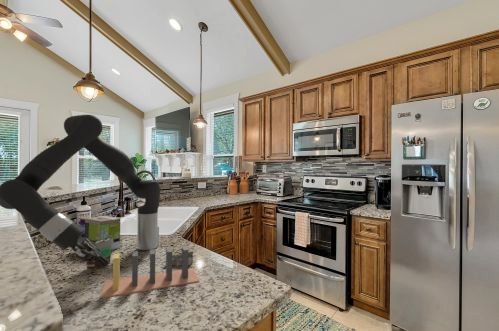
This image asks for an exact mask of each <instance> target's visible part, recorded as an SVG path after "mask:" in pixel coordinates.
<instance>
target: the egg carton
mask: <svg viewBox="0 0 499 331" xmlns="http://www.w3.org/2000/svg"><path fill="white" fill-rule="evenodd" d="M193 261H194V251H193V250H191V251H190V250H189V251H188V266H191V265H192V262H193ZM172 266H176V267H180V266H182V253H178V254H177V253H176V254H172Z"/></svg>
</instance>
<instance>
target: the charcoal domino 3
mask: <svg viewBox="0 0 499 331" xmlns="http://www.w3.org/2000/svg"><path fill="white" fill-rule="evenodd" d="M165 251H166V252H165V254H166V256H165V269H166V270H165V272H166V278H167V281H172V271H173V265H172V255H173V250H172V247H166V250H165Z"/></svg>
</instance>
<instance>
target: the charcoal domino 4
mask: <svg viewBox="0 0 499 331" xmlns="http://www.w3.org/2000/svg"><path fill="white" fill-rule="evenodd" d="M188 252H189V248H188V246H187V245H182V246H181V254H182V265H181V270H182V276H183V279H185V278H188V269H189V265H188Z"/></svg>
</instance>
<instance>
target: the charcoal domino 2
mask: <svg viewBox="0 0 499 331" xmlns="http://www.w3.org/2000/svg"><path fill="white" fill-rule="evenodd" d="M155 273H156V248H155V249H151V250H149V274H150V284H154V283H155Z"/></svg>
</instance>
